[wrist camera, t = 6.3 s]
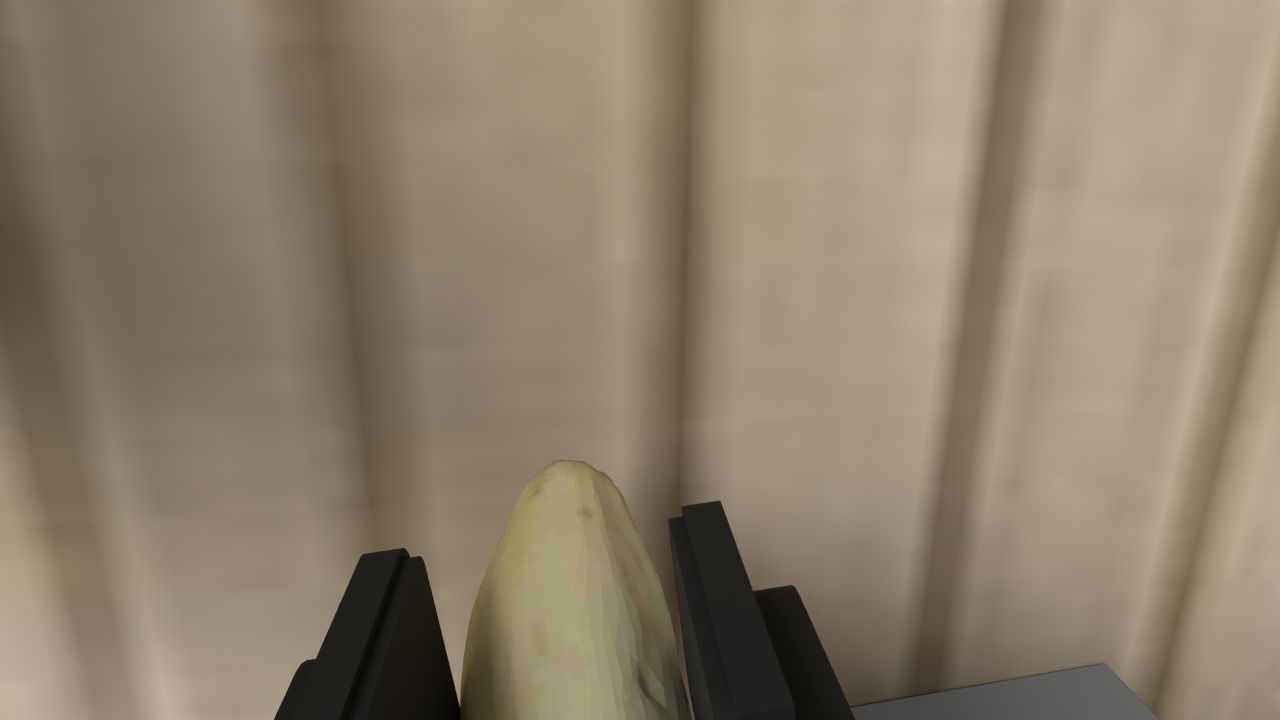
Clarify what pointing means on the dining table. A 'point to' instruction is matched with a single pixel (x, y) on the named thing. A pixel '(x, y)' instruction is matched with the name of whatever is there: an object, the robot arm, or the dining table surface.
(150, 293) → the dining table surface
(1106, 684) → the podium
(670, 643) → the fruit
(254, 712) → the dining table surface
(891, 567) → the dining table surface
